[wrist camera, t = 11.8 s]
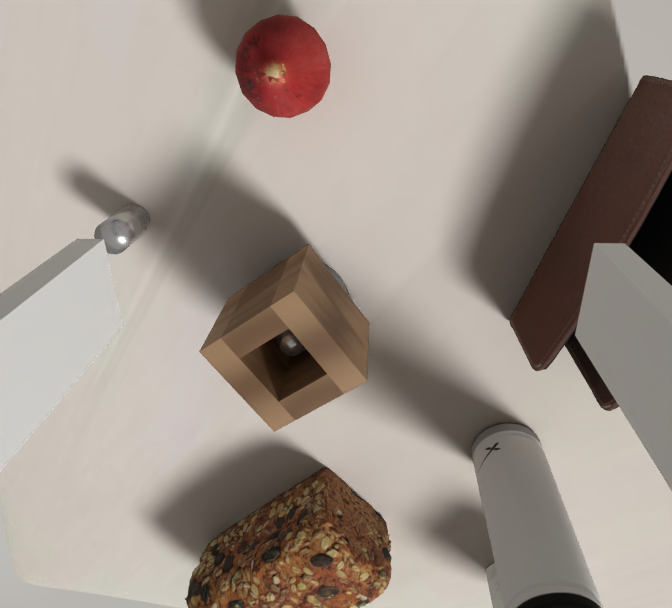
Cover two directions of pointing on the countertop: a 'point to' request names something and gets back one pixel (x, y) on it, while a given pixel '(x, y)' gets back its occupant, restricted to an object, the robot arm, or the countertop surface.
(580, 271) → the letter holder
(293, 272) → the collar
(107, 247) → the grey rounded piece
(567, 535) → the travel mug
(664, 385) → the robot arm
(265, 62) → the onion
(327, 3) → the countertop surface
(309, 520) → the bread
